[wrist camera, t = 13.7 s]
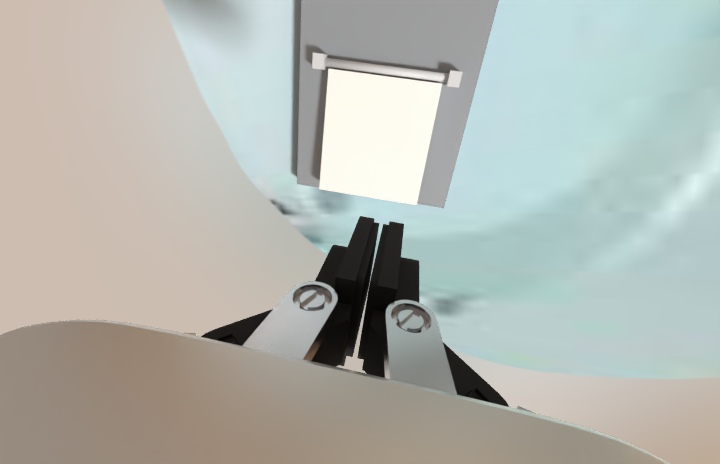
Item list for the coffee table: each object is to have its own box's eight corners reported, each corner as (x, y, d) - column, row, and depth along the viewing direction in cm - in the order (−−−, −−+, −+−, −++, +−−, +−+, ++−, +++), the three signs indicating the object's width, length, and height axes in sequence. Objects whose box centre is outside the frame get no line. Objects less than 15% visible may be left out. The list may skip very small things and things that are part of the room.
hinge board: (310, -116, 24) (297, -139, 21) (520, -98, 23) (534, -121, 20) (301, 179, 35) (292, 187, 32) (442, 202, 34) (445, 213, 31)
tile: (319, 189, 31) (321, 186, 32) (416, 205, 31) (416, 202, 32) (328, 68, 27) (331, 69, 28) (442, 83, 26) (441, 84, 27)
